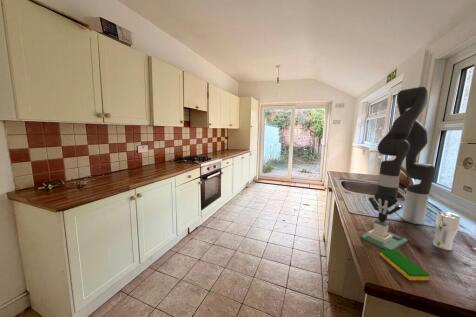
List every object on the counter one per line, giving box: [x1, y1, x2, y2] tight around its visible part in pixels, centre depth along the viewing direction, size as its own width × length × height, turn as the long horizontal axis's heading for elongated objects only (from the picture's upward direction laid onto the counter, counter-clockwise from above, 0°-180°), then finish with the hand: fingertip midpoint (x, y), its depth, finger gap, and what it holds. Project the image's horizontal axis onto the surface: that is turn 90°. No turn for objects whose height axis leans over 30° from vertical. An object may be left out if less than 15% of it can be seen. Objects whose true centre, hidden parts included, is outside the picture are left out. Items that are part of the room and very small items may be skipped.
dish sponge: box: [379, 249, 430, 281], centre depth 73 cm, size 7×14×2 cm, turn 2°
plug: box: [373, 219, 390, 238], centre depth 89 cm, size 4×4×8 cm
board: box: [360, 228, 408, 250], centre depth 90 cm, size 16×12×3 cm
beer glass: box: [432, 211, 461, 251], centre depth 85 cm, size 7×7×15 cm
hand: (382, 220), depth 88 cm, fingers closed
